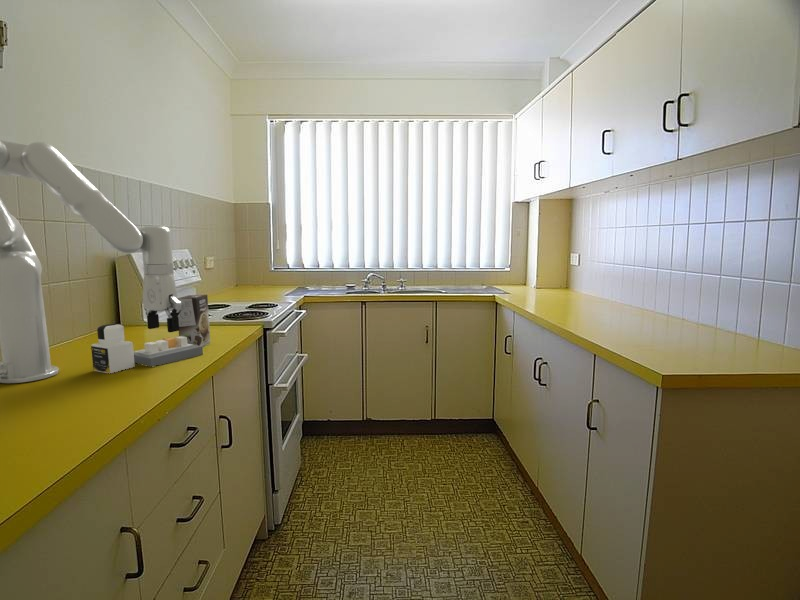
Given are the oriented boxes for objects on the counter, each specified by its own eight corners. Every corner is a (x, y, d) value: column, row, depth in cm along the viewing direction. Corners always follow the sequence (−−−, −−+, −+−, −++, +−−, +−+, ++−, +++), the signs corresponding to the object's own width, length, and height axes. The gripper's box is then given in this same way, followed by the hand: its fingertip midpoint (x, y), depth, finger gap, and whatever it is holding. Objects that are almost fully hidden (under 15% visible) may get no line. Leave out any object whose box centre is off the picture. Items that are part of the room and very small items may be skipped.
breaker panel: (151, 367, 132) (149, 347, 132) (126, 361, 139) (125, 342, 138) (202, 354, 146) (201, 336, 145) (178, 349, 152) (177, 332, 151)
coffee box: (199, 349, 152) (196, 297, 150) (179, 349, 153) (175, 298, 150) (211, 342, 161) (208, 294, 159) (192, 343, 162) (188, 294, 159)
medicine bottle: (92, 371, 130) (88, 326, 128) (119, 364, 136) (115, 321, 134) (109, 374, 126) (105, 328, 125) (135, 367, 132) (131, 323, 131)
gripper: (128, 270, 140) (133, 329, 143) (164, 272, 131) (169, 335, 133) (153, 268, 146) (158, 325, 149) (189, 270, 137) (193, 330, 140)
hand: (163, 329), depth 141 cm, fingers open, 9 cm apart
